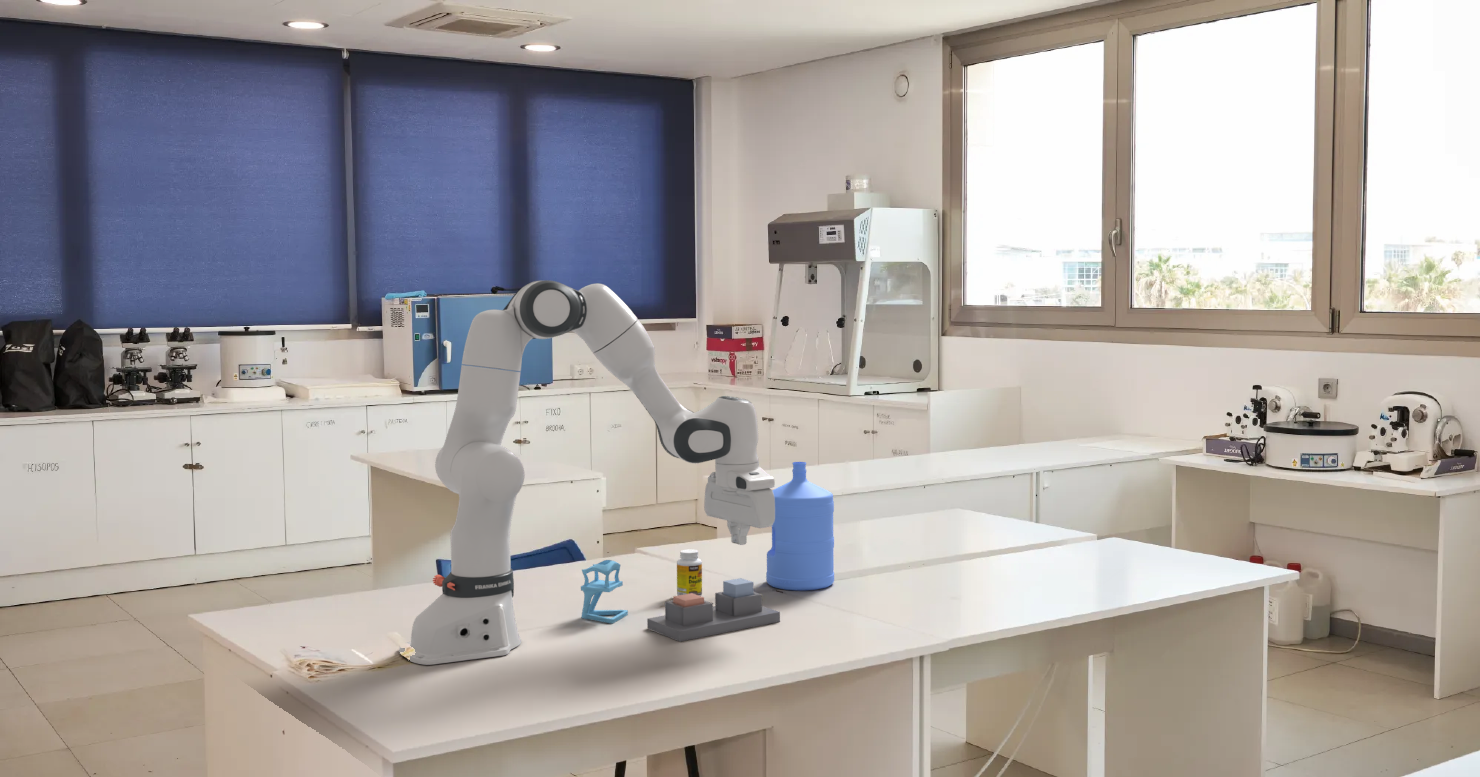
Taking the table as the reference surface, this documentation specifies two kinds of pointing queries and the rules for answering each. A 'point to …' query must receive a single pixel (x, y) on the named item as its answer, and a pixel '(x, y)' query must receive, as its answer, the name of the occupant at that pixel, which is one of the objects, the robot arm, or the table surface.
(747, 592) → the slate key
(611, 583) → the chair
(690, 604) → the terracotta key
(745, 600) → the grey piece
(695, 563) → the supplement bottle
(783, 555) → the water jug
